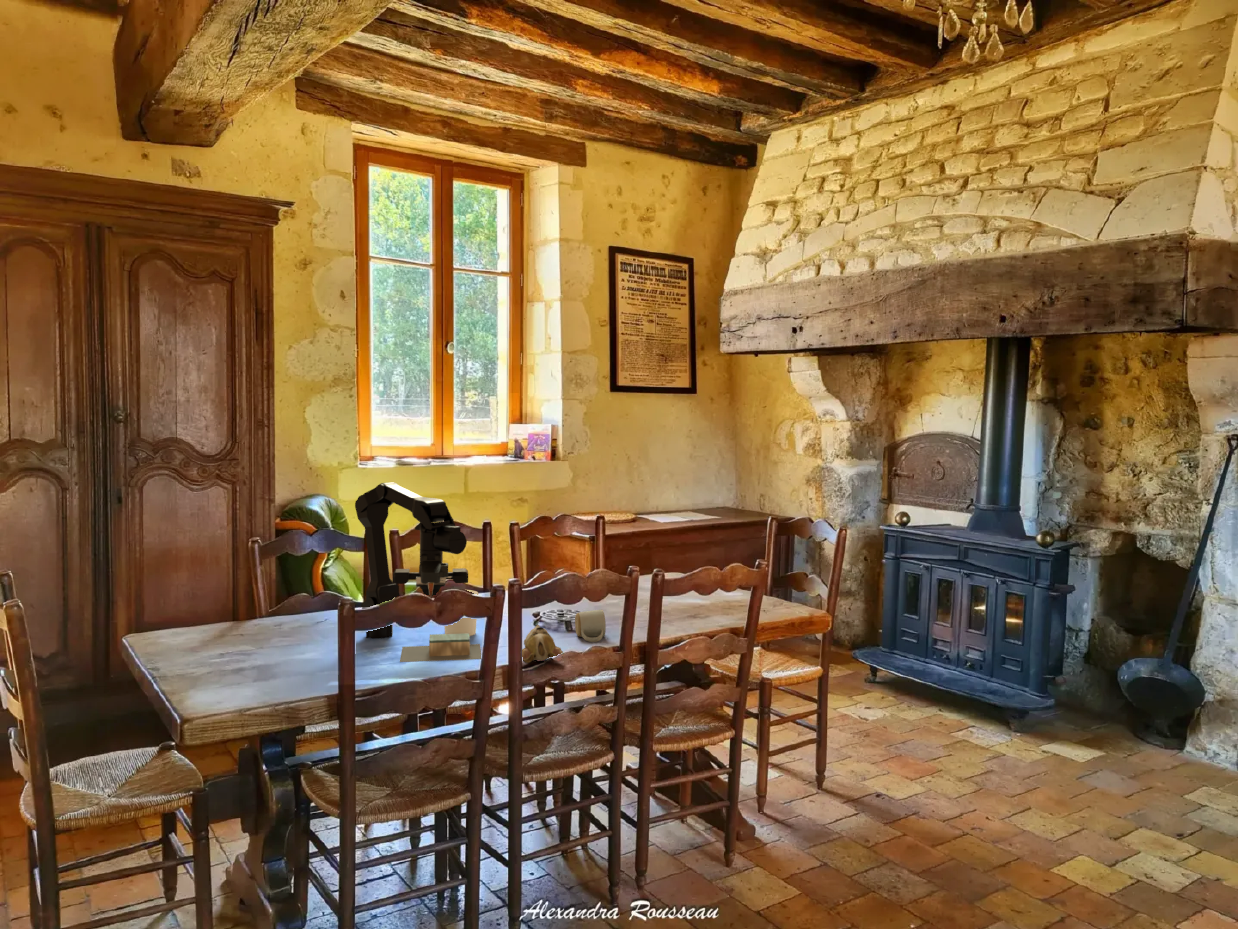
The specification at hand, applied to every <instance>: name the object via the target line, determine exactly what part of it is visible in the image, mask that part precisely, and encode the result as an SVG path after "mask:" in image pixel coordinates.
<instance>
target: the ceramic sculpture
mask: <svg viewBox="0 0 1238 929" xmlns="http://www.w3.org/2000/svg"><path fill="white" fill-rule="evenodd" d="M523 645H524V647H523V648H522V649H521V650H522V657H523V661H522V662H523V663H525V664H529V663H531V662H532V661H533V662H534V660H541V661H542V660H545V659H547V658H549V657H553V656H557V655H558V654H561V653H563V654H564V652H563V650H562V648H561V647H559V646H556V643H555V641H554V638H553V637H552V636H551V634H550V633H549V632H548V630H547V629H546V628H544V627H542V626H540V625H539V624H537V625H536V626H534V627H533V628H532V629H530V631H529V632H528V633H527V635H526V637H525V639H524V641H523Z"/></svg>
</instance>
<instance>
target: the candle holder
mask: <svg viewBox="0 0 1238 929" xmlns="http://www.w3.org/2000/svg"><path fill="white" fill-rule="evenodd" d="M466 590H467V591H469V592H472V593H474V594H477V595H478V596H479V592H478V591H476V590H471V589H466ZM443 626H444V625H443ZM476 632H477V619H471V618H462V619H460V621H458V622H457V623H454V624H453V625H448V626H444V634H464V633H469V637H471V636H474V635H476Z"/></svg>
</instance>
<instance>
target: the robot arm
mask: <svg viewBox="0 0 1238 929" xmlns="http://www.w3.org/2000/svg"><path fill="white" fill-rule="evenodd" d="M394 504H395V505H397V506H400V507H402V508H404V509H405V510H408V511H409V512H411V514H412V515H411V516H412V517H413V518H414V519H415V520H416V521H418V524H417V525H416V526H415V527H414V530H416V531H419V566H418V571H417V572H415V571H414V572H411V571H410V570H411V569H410V568H395V570H394V571H393V573H392V579H391V577H390V570H389V560H388V553H387V543H386V542H387V541H386V535H385V534H386V533H385V524H386V521H387V519H388V517H389V508H390V507H391V506H392V505H394ZM354 508H355V512H356V515H357V516H356V517H357V519H358V521H359V523H360V524H361V525H362V526H363V528H364V530H365V531H364V532H365V541H366V548H367V558H368V567H369V577H370V582H369V584H368V586H367V589H366V590H365V601H364V602H363V604H362V605H361V607H370V606H373V605H376V604H380V603H382V602H385V601H389V600H392V599H393V598H394V597H397V596H400V592H399V591H400V588H399V587H400V586H399V585H404V584H405V585H406V584H407V583H408V582H409V581H415V582H416V583H415V586H416V588H417V587H418V588H420V589H421V591H422V593H423V595H424V594H426V595H430V596H431V597H432V596H433V595H436V593H437V592H438V593H439V592H440V590H441V588H442V587H446V581H447V580H452V581H453V582H454V583H455V584H468V583H469V571H468V569H467V568H452V571H449V562H443V558H444V557H443V556H444V555H443V553H448V554H453V555H460V554H461V553H463V552H464V551H465V549H466V548H467V543H468V542H467V540H468V539H467V538H466V535H465V534H464V532H463V531H461V526H457V525H456V523H455V522H454V521H455V520H454V518H453V517H452V515H451V512H450V510H449V508H448V506H447V503H446V501H444V500H443V499H441V498H436V497H425V496H422V495H420V494H418V493H415V492H413V491H411V490H409V489H407V488H404V487H402V486H400V485H399V484H398V483H396V482H393V481H392V482H389V481H388V482H381V483H379V484H378V485H376V487H374V488H372V489H370V490H368V491H366V492H364V493H362V494H361V495H359V496H358V497H357V499H356V500H355V503H354ZM430 583H431V584H433V585H432V592H431V593H430V585H429V584H430ZM400 597H401V596H400ZM361 607H360V608H361ZM393 627H394V624H393V625H390V626H387V627H384V628H380V629H377V630H373V631H368V632H366V631H365V638H366V639H373V640H374V639H375V640H378V639H385V638H392V637H393V633H394V628H393Z"/></svg>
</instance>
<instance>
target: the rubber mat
mask: <svg viewBox="0 0 1238 929" xmlns="http://www.w3.org/2000/svg"><path fill="white" fill-rule="evenodd" d="M481 648H482V647H481V644H480V643H473V644H472V643H470V655H453V656H429V645H417V646H416V645H413V646H402V648H401V653H400V658H399V663H411V662H412V663H413V662H416V663H417V662H436V661H437V662H439V661H440V662H442V661H443V662H444V661H463V660H464V661H465V660H482V659H481V655H482V649H481Z"/></svg>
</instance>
